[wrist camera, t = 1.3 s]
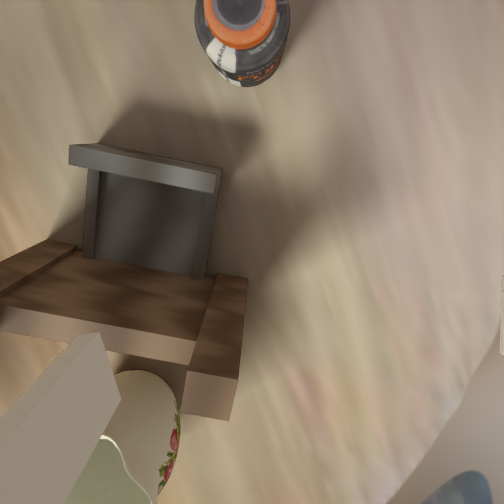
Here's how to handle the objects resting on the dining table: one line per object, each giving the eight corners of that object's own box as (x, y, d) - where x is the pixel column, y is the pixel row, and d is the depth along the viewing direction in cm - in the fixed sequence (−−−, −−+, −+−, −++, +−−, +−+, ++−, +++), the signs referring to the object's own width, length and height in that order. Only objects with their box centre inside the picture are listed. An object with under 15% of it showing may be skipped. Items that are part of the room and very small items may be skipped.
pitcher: (79, 451, 44) (2, 585, 31) (104, 320, 39) (24, 414, 26) (170, 474, 45) (132, 614, 32) (207, 347, 40) (179, 453, 26)
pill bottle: (244, 103, 32) (235, 87, 21) (196, 46, 31) (160, -1, 20) (297, 51, 31) (316, 5, 20) (249, -11, 30) (241, -94, 19)
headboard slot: (45, 268, 37) (-106, 360, 22) (49, 133, 33) (-130, 132, 18) (242, 306, 38) (229, 421, 23) (269, 178, 34) (274, 213, 19)
